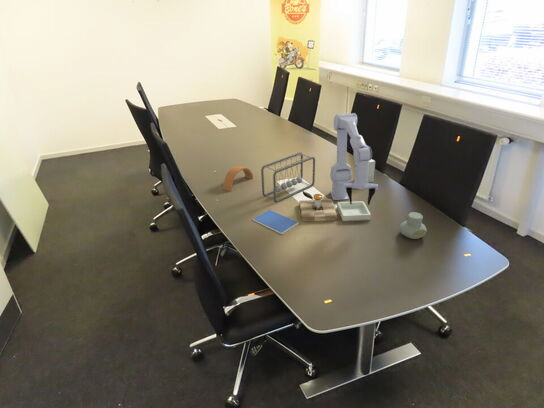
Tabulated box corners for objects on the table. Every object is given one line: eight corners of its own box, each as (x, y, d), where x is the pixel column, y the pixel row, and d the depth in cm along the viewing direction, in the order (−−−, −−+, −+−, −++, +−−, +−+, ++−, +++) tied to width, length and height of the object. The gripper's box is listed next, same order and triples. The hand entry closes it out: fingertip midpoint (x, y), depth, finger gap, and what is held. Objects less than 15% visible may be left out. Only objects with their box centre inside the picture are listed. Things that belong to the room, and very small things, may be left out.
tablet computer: (251, 221, 171) (251, 218, 170) (269, 210, 178) (269, 208, 178) (281, 236, 159) (281, 233, 158) (299, 224, 167) (299, 222, 166)
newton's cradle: (275, 203, 184) (274, 172, 175) (262, 196, 191) (260, 166, 182) (314, 185, 200) (315, 156, 192) (301, 179, 207) (301, 151, 199)
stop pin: (312, 210, 177) (312, 194, 172) (320, 209, 177) (321, 193, 172) (313, 214, 173) (314, 198, 169) (322, 214, 173) (322, 197, 169)
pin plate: (299, 204, 182) (299, 200, 180) (330, 203, 182) (330, 199, 181) (302, 221, 168) (303, 217, 166) (336, 219, 168) (337, 215, 167)
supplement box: (373, 181, 202) (376, 161, 196) (362, 184, 200) (364, 163, 194) (366, 176, 208) (368, 156, 202) (355, 179, 206) (357, 158, 200)
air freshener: (406, 242, 151) (410, 222, 146) (395, 232, 158) (398, 212, 153) (428, 237, 153) (433, 217, 148) (416, 227, 160) (420, 208, 155)
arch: (223, 189, 200) (221, 173, 195) (246, 176, 214) (244, 161, 209) (230, 191, 197) (229, 175, 192) (253, 178, 211) (252, 163, 206)
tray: (337, 207, 178) (337, 202, 177) (363, 206, 178) (363, 201, 177) (342, 221, 167) (343, 215, 165) (370, 220, 167) (370, 214, 165)
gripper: (344, 177, 152) (342, 206, 157) (379, 178, 149) (377, 207, 154) (344, 172, 158) (343, 200, 164) (378, 172, 155) (376, 201, 161)
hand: (359, 203), depth 160 cm, fingers open, 7 cm apart
